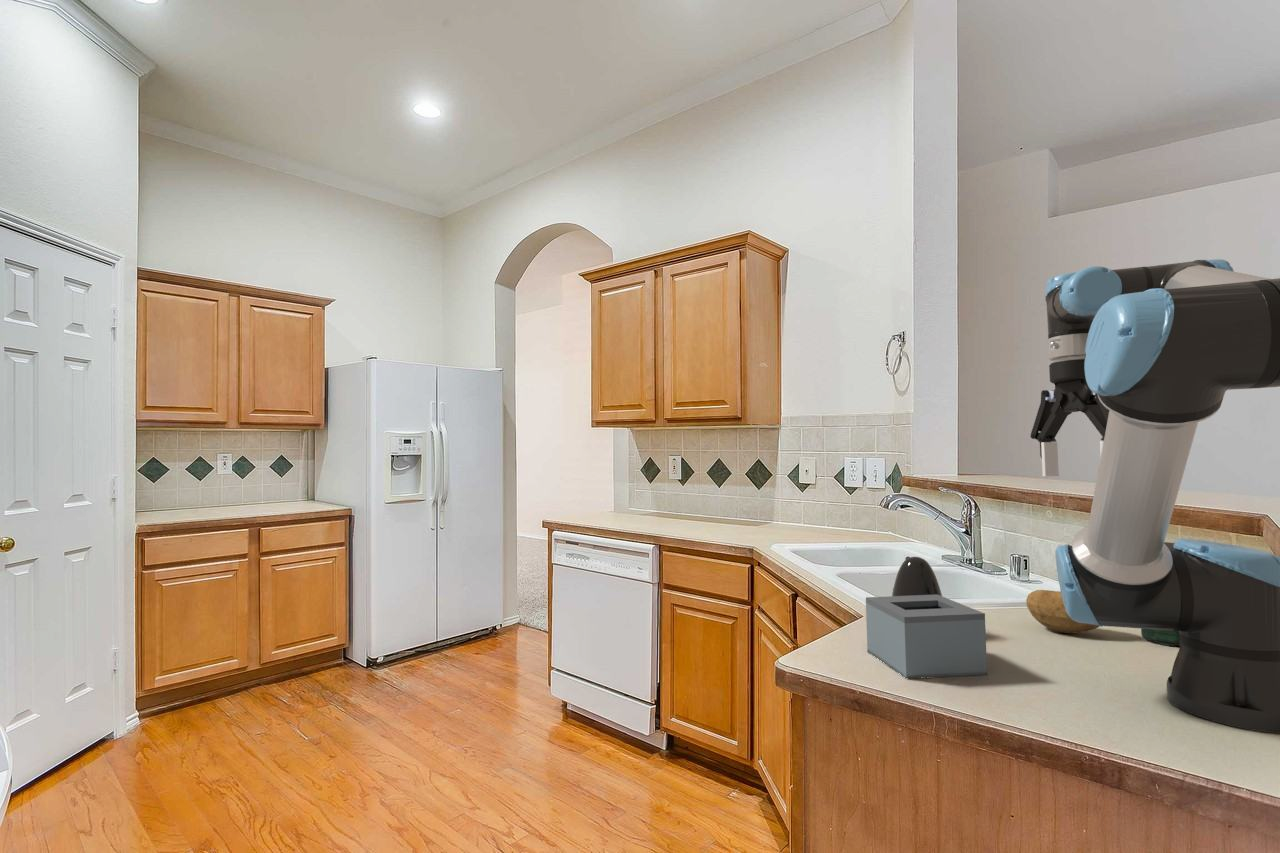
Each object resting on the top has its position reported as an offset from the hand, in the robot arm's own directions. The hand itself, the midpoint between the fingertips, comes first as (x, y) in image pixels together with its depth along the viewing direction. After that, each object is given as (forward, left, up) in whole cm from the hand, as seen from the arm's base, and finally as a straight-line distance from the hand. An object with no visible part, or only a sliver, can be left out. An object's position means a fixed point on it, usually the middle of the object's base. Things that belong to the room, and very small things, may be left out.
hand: (1078, 477), depth 113 cm
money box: (+1, +30, -32) cm, 44 cm away
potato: (+14, -8, -32) cm, 36 cm away
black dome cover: (+19, +21, -32) cm, 43 cm away
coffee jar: (+6, -22, -32) cm, 39 cm away
